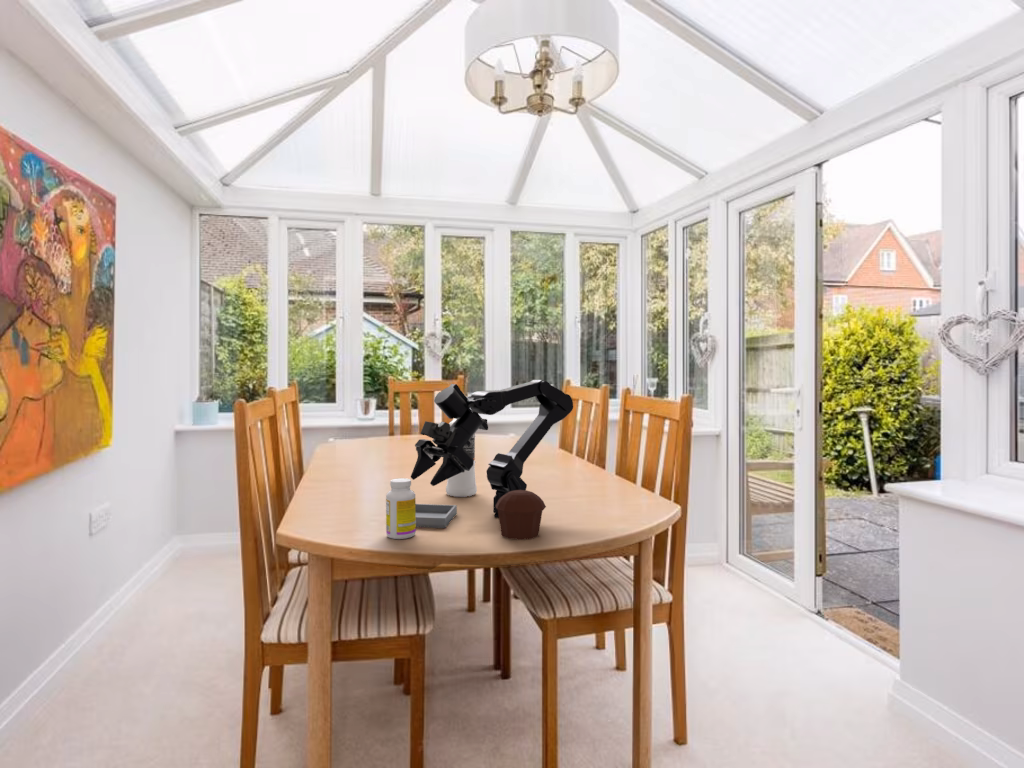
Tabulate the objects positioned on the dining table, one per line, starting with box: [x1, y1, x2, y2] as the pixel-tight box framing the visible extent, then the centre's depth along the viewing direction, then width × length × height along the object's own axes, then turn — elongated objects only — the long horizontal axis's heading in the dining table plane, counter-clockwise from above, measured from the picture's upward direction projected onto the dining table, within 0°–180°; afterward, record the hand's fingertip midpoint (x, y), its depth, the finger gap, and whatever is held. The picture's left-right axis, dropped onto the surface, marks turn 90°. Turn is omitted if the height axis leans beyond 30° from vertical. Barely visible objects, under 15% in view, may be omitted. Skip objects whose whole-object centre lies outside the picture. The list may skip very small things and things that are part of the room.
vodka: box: [445, 418, 478, 498], centre depth 179 cm, size 9×9×30 cm
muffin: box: [495, 489, 547, 541], centre depth 138 cm, size 12×11×10 cm
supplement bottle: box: [385, 477, 417, 540], centre depth 136 cm, size 7×7×13 cm
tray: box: [415, 503, 458, 529], centre depth 150 cm, size 13×13×2 cm
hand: (421, 481), depth 139 cm, fingers open, 9 cm apart
